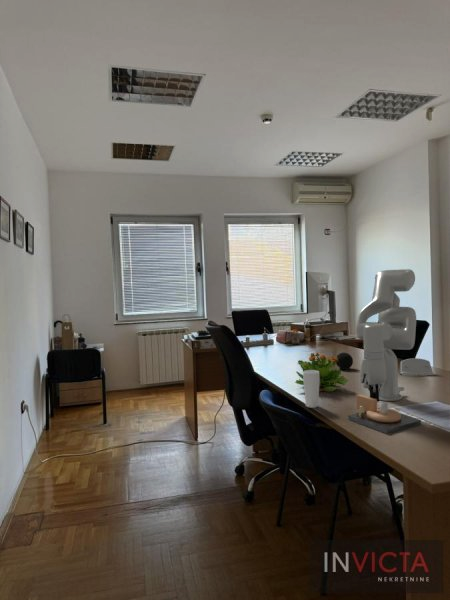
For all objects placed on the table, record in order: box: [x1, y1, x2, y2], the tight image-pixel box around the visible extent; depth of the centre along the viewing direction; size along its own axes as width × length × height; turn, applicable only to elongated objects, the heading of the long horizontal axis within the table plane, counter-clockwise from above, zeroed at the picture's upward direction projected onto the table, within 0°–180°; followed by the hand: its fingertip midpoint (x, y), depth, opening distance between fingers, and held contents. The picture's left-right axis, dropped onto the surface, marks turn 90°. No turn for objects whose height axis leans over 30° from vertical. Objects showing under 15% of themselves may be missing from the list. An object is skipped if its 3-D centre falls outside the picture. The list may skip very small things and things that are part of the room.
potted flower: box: [294, 352, 350, 393], centre depth 199 cm, size 25×24×18 cm
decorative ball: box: [335, 352, 354, 370], centre depth 241 cm, size 10×10×10 cm
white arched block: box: [399, 357, 434, 377], centre depth 223 cm, size 17×5×10 cm, turn 82°
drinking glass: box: [302, 370, 320, 409], centre depth 171 cm, size 7×7×15 cm
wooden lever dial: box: [355, 394, 402, 422], centre depth 153 cm, size 12×18×6 cm, turn 27°
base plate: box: [347, 406, 422, 435], centre depth 150 cm, size 18×18×6 cm
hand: (374, 400), depth 161 cm, fingers closed
